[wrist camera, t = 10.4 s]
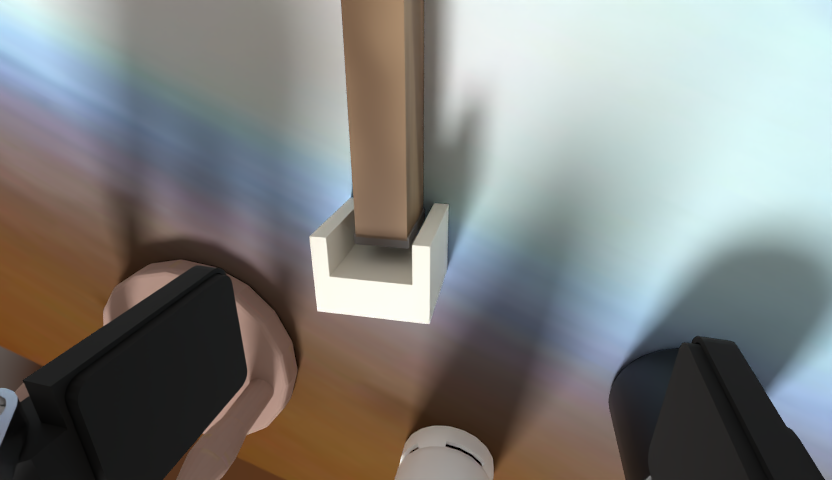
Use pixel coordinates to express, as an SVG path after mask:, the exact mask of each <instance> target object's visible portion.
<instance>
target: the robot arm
mask: <svg viewBox="0 0 832 480" xmlns="http://www.w3.org/2000/svg"><path fill="white" fill-rule="evenodd" d="M246 377H247V364H246V359H245V353H244V347H243V342H242V336H241V330H240V324H239V319H238V313H237V307H236V302H235V296H234V290H233V285H232V281H231V279H230V277H229V276H227V275H226V273H225V271H224V270H223V269H221V268H215V267H208V266H201V265H196V266H194V267H192V268H190V269H189V270H187V271H186V272H184V273H183V274H181V275H180V276H178V277H177V278H175V279H174V280H172V281H171V282H169V283H168V284H166V285H165V286H163V287H162V288H160V289H159V290H157V291H156V292H154V293H153V294H151V295H150V296H148V297H147V298H145V299H144V300H142V301H141V302H139V303H138V304H136V305H135V306H133V307H132V308H130V309H129V310H127V311H126V312H124V313H123V314H121V315H120V316H118V317H117V318H115V319H114V320H112V321H111V322H109V323H108V324H106V325H105V326H103V327H102V328H100V329H99V330H97V331H96V332H94V333H93V334H91V335H90V336H88V337H87V338H85V339H84V340H82V341H81V342H79V343H78V344H76V345H75V346H73V347H72V348H70V349H69V350H67V351H66V352H64V353H63V354H61V355H60V356H58V357H57V358H55V359H54V360H52V361H51V362H49V363H48V364H46V365H45V366H43V367H42V368H40V369H39V370H37V371H36V372H34V373H33V374H31V375H30V376H28V377H27V378H25V379H24V380H23V382H24V384H25V387H26V389H27V391H28V394H29V396H28V397H27V398H25V399H24V400H23V401H21V402H20V401H19V399H18V397H17V395H16V394H15V393H14V391H11V390H8V389H5V388H0V480H163V479H164V478H165V476H166V475H167V474H168V473H169V472H170V471H171V469H172V468H173V467H174V466H175V465H176V464H177V462H178V461H179V460H180V459H181V458H182V456H183V455H184V454H185V453H186V452H187V450H188V449H189V448H190V447H191V446H192V445H193V444H194V442H195V441H196V440H197V439H198V438H199V437H200V435H201V434H202V433H203V432H204V431H205V430H206V428H207V427H208V426H209V425H210V424H211V422H212V421H213V420H214V419H215V418H216V417H217V415H218V414H219V413H220V412H221V411H222V410H223V408H224V407H225V406H226V405H227V404H228V403H229V401H230V400H231V399H232V398H233V397H234V396H235V394H236V393H237V392H238V391H239V390H240V388H241V387H242V386H243V385H244V383H245V381H246ZM648 465H649V471H650V475H651V479H652V480H825V479H824V478H823V476H822V474H821V473H820V471H819V470H818V468H817V466H816V465H815V463H814V462H813V460H812V458H811V457H810V455H809V454H808V452H807V450H806V449H805V447H804V446H803V444H802V442H801V441H800V439H799V438H798V436H797V435H796V434H795V433H794V432H793V430H791V429H790V428H788V427H786V425H785V423H784V422H783V420H782V418H781V417H780V415H779V414H778V412H777V410H776V409H775V407H774V405H773V404H772V402H771V400H770V399H769V397H768V396H767V394H766V392H765V391H764V389H763V387H762V386H761V384H760V383H759V381H758V379H757V378H756V376H755V374H754V373H753V371H752V370H751V368H750V366H749V365H748V363H747V361H746V360H745V358H744V356H743V355H742V353H741V352H740V350H739V348H738V347H737V345H736V344H735V343H734V342H732V341H728V340H721V339H714V338H707V337H700V336H697V337H695V338H694V339H693V340H692V342H691V343H686V342H684V343H682V344H681V346H680V348H679V351H678V355H677V358H676V361H675V364H674V368H673V371H672V374H671V378H670V381H669V384H668V388H667V391H666V394H665V398H664V401H663V404H662V407H661V411H660V414H659V417H658V421H657V424H656V427H655V431H654V434H653V437H652V440H651V444H650V447H649V453H648Z"/></svg>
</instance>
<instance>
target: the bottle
mask: <svg viewBox="0 0 832 480" xmlns="http://www.w3.org/2000/svg"><path fill="white" fill-rule="evenodd" d="M446 444H448V445H451V446H455V447H458V448H461V449H463V450H464V451H466V452H468V453H470V454H472V455H473V456H474V457H475V458H476V459H477V460H478V461H479V462H480V463H481V464H482V466H481V465H480V464H479V463H477V462H476V461H475V460H474V459H473V458H472V457H470V456H469V455H467V454H465V453H463V452H461V451H459V450H456V449H452V448H449V447H445V446H446ZM417 447H418V449H417V450H415V451H413V452H412V453H410V452H411V451H412V450H414V449H416V448H417ZM409 453H410V454H409ZM493 475H494V465H493V457H492V456H491V454H490V452H489V450H488V449H487V447H486V446H485V445H484V444H483V443H482V442H481V441H480V440H479V439H478V438H477V437H475V436H473V435H471V434H470V433H468V432H466V431H464V430H461V429H457V428H454V427H450V426H430V427H426V428H421V429H420V430H418V431H416V432H415V433H413V434H411V436H410V437H409V439H408V440H407V441H406V443H405V446H404V449H403V453H402V456H401V461H400V465H399V467H398V470H397V473H396V477H395V480H493Z"/></svg>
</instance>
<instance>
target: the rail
mask: <svg viewBox="0 0 832 480" xmlns="http://www.w3.org/2000/svg"><path fill="white" fill-rule="evenodd" d="M341 7H342V23H343V39H344V55H345V71H346V87H347V103H348V119H349V135H350V151H351V167H352V183H353V200H354V216H355V233H354V240H355V244H359V245H371V246H382V247H394V248H405V249H409V248H410V246H411V244H412V242H413V240H414V238H415V236H416V234H417V233H418V231H419V229H420V227H421V225H422V223H423V221H424V220H425V209H423V176H424V0H341Z"/></svg>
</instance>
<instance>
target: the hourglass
mask: <svg viewBox="0 0 832 480" xmlns="http://www.w3.org/2000/svg"><path fill="white" fill-rule="evenodd" d="M196 265H201V266H208V267H213V266H209V265H204V264H200V263H195V262H191V261H186V260H182V259H180V260H173V261H166V262H158V263H151V264H149V265H147V266H146V267H144V268H142V269H141V270H139V271H137V272H136V273H135V274H133V275H132V276H130V277H129V278H127V279H126V280H124V281H123V282H121V283H120V284H118V285H117V286H116V287H115V288H114V289H113V291H112V293H111V296H110V298H109V300H108V302H107V304H106V306H105V308H104V310H103V321H104V326H105V325H106V324H108V323H109V322H111V321H112V320H114V319H115V318H117V317H118V316H120V315H121V314H123V313H124V312H126V311H127V310H129V309H130V308H132V307H133V306H135V305H136V304H138V303H139V302H141V301H142V300H144V299H145V298H147V297H148V296H150V295H151V294H153V293H154V292H156V291H157V290H159V289H160V288H162V287H163V286H165V285H166V284H168V283H169V282H171V281H172V280H174V279H175V278H177V277H178V276H180V275H181V274H183V273H184V272H186V271H187V270H189V269H190V268H192V267H194V266H196ZM215 268H216V267H215ZM226 275H227V276H229V277H230V279H231V281H232V285H233V290H234V296H235V302H236V307H237V313H238V319H239V324H240V330H241V336H242V342H243V347H244V353H245V359H246V364H247V377H246V381H245V383H244V385H243V386H242V387H241V388H240V390H239V391H238V392H237V393H236V394H235V396H234V397H233V398H232V399H231V400H230V401H229V403H228V404H227V405H226V406H225V407H224V408H223V410H222V411H221V412H220V413H219V414H218V415H217V417H216V418H215V419H214V420H213V421H212V422H211V424H210V425H209V426H208V427H207V428H206V430H205V431H204V432H203V433H204V435H203V436H202V437H201V438H200V439H199V441H198V442H197V443H196V444H195V446H194V447H193V448H192V449H191V451H190V452H189V453H188V455H187V457H186V459H185V462H184V464H183V466H182V468H181V471H180V473H179V475H178V477H177V479H176V480H219V479H221V478H222V477H223V476H224V474H225V473H226V472H227V470H228V469H229V467H230V466H231V464H232V463H233V461H234V460H235V458H236V456H237V454H238V452H239V450H240V448H241V446H242V444H243V442H244V439H245V437H246V435H248V434H250V433H253V432H255V431H258V430H261V429H263V428H266V427H267V426H268V425H269V424H270V423H271V422H272V421H273V420H274V419H275V418H276V416H277V415H278V414H279V413H280V412H281V411H282V410H283V409H284V407H285V406H286V404H287V403H288V401H289V400H290V398H291V396H292V392H293V388H294V384H295V380H296V376H297V371H298V370H297V364H296V359H295V354H294V349H293V343H292V340H291V339H290V337H289V335H288V333H287V332H286V330H285V328H284V326H283V325H282V323H281V321H280V319H279V318H278V316H277V314H276V312H275V311H274V310H273V309H272V308H271V307H270V306H269V305H268V304H267V303H266V302H265V301H264V300H263V299H262V298H261V297H260V296H259V295H258V294H257V293H256V292H255V291H254V290H253V289H252V288H251V287H250V286H249V285H247V284H245V283H243V282H241V281H240V280H238V279H236V278H234V277H232V276H231V275H229V274H227V273H226ZM15 394H16V395H17V397H18V399H19V401H20V402H21V401H23V400H24V399H25V398H27V397H28V396H29V394H28V391H27V389H26V387H25V384H24V383H23V384H22V385H21V386H20V387H19V388H18V389H17V390H16V392H15Z"/></svg>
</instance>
